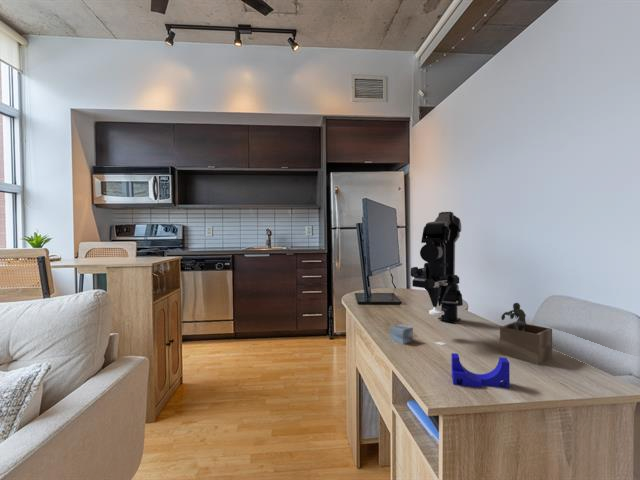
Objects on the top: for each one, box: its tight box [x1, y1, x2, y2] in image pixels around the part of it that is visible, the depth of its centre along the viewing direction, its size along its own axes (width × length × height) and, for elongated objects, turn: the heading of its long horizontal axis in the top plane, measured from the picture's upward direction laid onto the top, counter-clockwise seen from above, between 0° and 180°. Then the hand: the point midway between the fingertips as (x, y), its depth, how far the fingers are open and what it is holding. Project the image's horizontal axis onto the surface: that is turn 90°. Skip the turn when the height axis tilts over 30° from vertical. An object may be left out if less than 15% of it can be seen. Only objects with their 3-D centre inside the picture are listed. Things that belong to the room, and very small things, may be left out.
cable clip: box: [450, 352, 511, 389], centre depth 77 cm, size 12×4×6 cm, turn 73°
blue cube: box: [390, 323, 414, 345], centre depth 108 cm, size 5×5×5 cm
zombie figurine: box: [500, 302, 528, 332], centre depth 99 cm, size 5×7×15 cm
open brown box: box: [499, 321, 553, 366], centre depth 95 cm, size 10×10×8 cm
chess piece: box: [428, 286, 444, 316], centre depth 111 cm, size 5×5×10 cm
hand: (436, 306), depth 111 cm, fingers closed on chess piece, 2 cm apart
